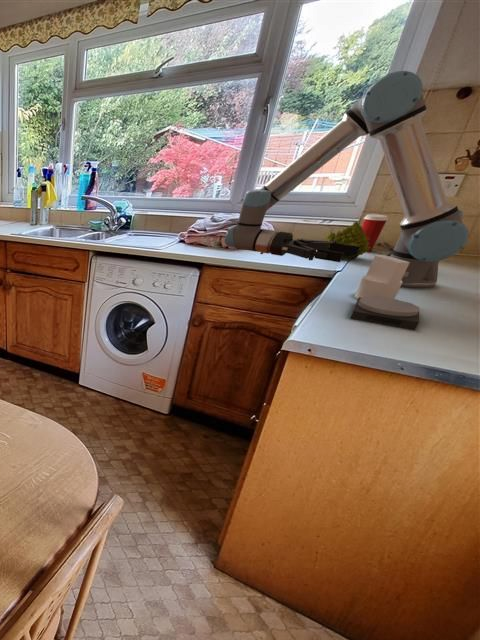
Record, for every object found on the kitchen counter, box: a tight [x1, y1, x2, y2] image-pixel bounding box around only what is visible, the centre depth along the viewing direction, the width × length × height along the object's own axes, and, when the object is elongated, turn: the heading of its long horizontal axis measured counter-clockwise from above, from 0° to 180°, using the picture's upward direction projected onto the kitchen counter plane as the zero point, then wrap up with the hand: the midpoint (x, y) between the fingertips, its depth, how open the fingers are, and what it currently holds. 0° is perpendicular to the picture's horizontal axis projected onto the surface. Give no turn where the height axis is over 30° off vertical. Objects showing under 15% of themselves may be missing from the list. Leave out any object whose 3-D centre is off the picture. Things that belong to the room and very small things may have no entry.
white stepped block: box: [354, 254, 410, 300], centre depth 127 cm, size 9×9×12 cm
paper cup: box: [361, 213, 389, 253], centre depth 181 cm, size 8×8×14 cm
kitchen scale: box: [349, 297, 421, 331], centre depth 117 cm, size 15×13×3 cm
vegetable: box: [325, 221, 371, 261], centre depth 172 cm, size 15×16×15 cm
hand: (350, 254), depth 131 cm, fingers open, 13 cm apart
